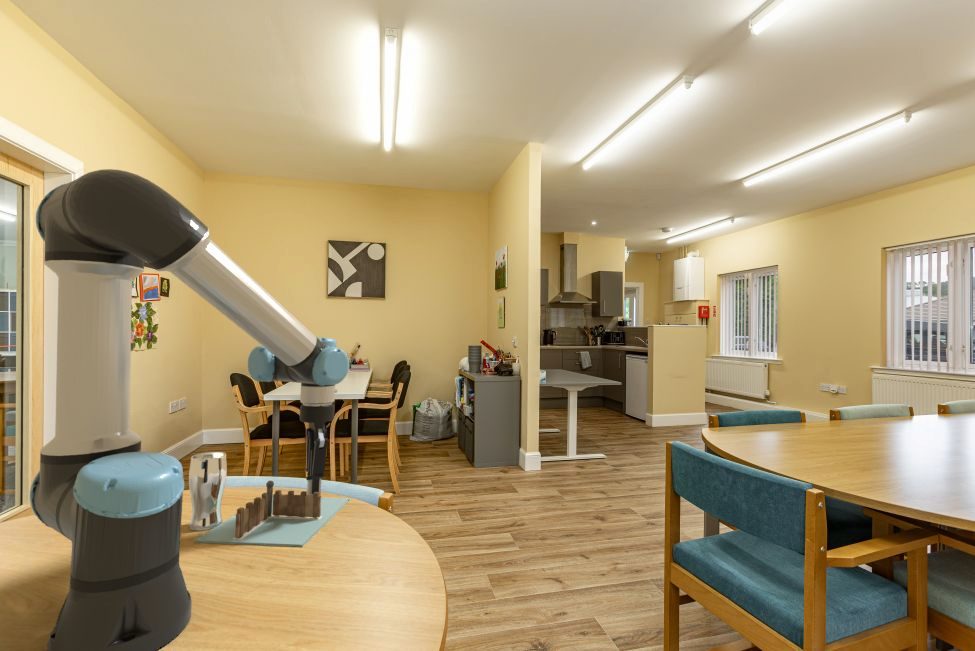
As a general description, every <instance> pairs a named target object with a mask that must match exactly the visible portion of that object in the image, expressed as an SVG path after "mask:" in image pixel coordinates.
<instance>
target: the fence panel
mask: <svg viewBox="0 0 975 651" xmlns="http://www.w3.org/2000/svg"><path fill="white" fill-rule="evenodd" d="M321 498H322V495H321V496H319V492H314V493H313V496H312V495H307V491H306V490H305V491H303V490H302V491H300V494H295V490H288V491H287V494H286V493H284V494H283V493H282V490H280V489H277V490H275V491H274V493H273V512H272V515H274V516H298V517H313V518H317V517H318V518H319V517H321Z"/></svg>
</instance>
